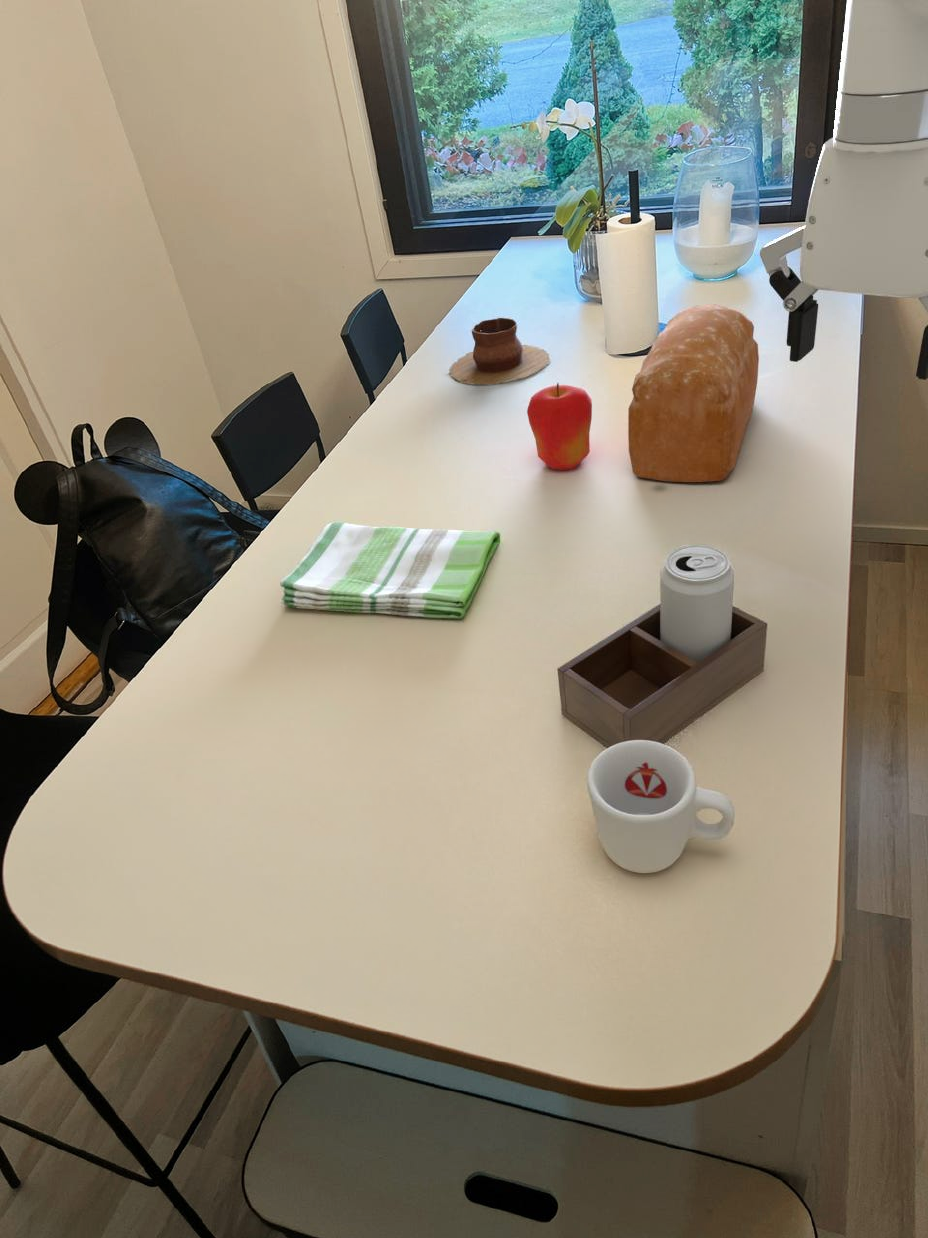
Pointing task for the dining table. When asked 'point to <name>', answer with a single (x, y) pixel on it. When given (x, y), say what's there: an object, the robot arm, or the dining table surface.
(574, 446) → the apple
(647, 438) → the bread
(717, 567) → the beverage can
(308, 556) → the dish towel
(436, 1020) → the dining table surface
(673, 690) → the wooden compartment box
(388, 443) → the dining table surface
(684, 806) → the cup
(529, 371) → the ceramic pot
